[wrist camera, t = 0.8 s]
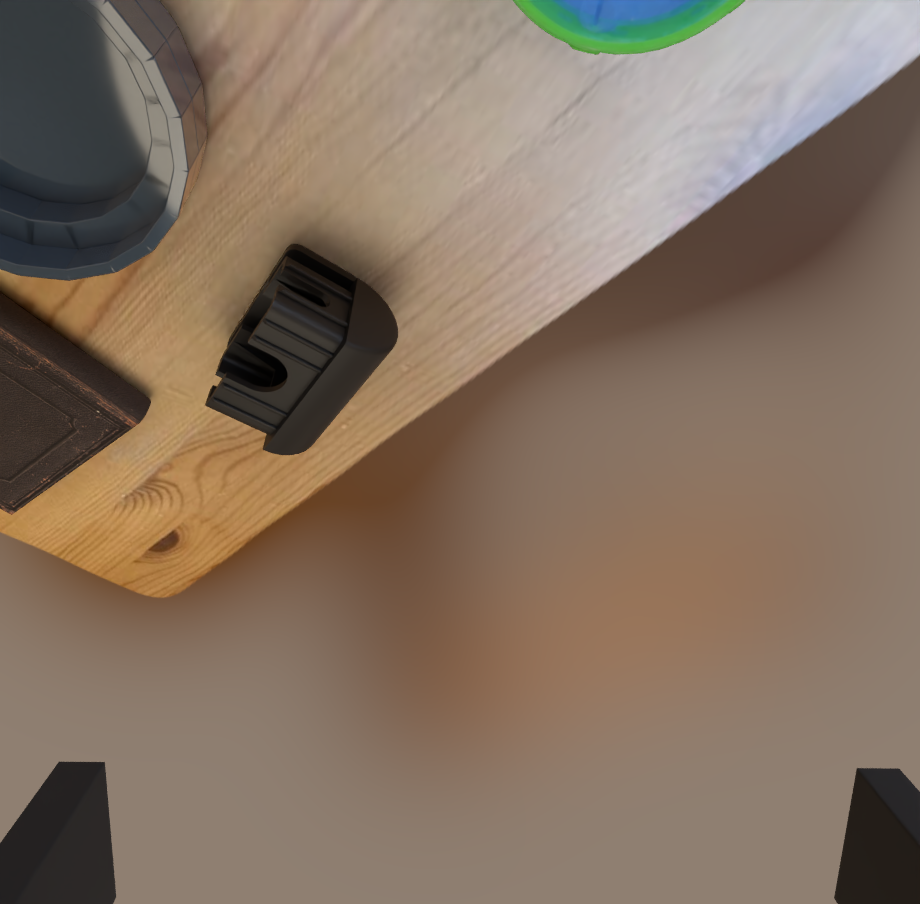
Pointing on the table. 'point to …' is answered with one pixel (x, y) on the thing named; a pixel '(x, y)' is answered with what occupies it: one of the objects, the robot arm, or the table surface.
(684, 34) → the snack cup
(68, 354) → the hardcover book
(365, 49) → the table surface
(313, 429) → the end cap
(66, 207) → the bowl
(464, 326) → the table surface
